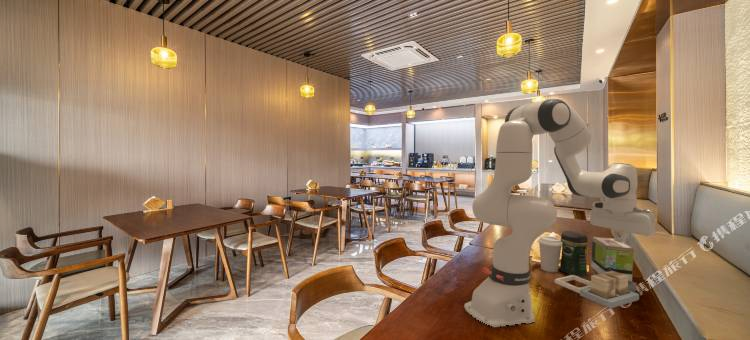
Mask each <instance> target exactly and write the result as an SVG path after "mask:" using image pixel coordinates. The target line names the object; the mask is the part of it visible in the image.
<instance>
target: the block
mask: <svg viewBox="0 0 750 340" xmlns="http://www.w3.org/2000/svg"><path fill="white" fill-rule="evenodd" d="M604 275H606V276H608V277H611V278H614V279H616V283H615V294H617V295H620V296H622V295H625V294H628V275H625V274H621V273H618V272H615V271H609V272H605V273H604Z"/></svg>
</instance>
